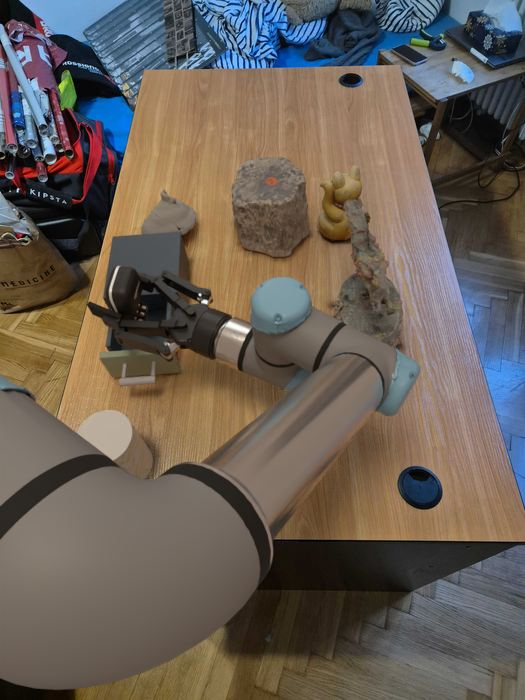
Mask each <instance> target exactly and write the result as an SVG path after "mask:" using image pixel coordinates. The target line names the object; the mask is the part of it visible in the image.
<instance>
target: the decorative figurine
mask: <svg viewBox="0 0 525 700" xmlns="http://www.w3.org/2000/svg"><path fill="white" fill-rule="evenodd" d="M361 176H362V175H361V170H360V166H359V165H358V164H353V165H352V166H351V167H350V169H349V172H341V171H339V170H338V171H335V172H334V173H333V175H332V179H331V180H330V179H324V180H322V181H321V183H320V184H319V186H320V188H322V189H323V190H324V195H323V197H322V201H321V207H322V210H323V211H322V212H320V214H319V216H318V219H317V224H316V227H317V230H318V231H319V232H320V233H321V235H323V236H324V237H325V238H326V239H329V240H330V241H331V242H332V243H334V242H336V241H341V240H342V241H343V240H344V241H348V240H349V239H351V232H352V230H351V227H350V224H349V223H348V217H347V216H346V212H345V207H344V202H346V201H347V200H357V201H360V202H362V203H363V201H362V199H361V195H362V193H363V192H362V191H363V182H362V180H361ZM361 209H362V210H363V206H362V207H361Z"/></svg>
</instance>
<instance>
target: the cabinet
mask: <svg viewBox="0 0 525 700" xmlns="http://www.w3.org/2000/svg"><path fill="white" fill-rule="evenodd" d="M110 244H111V245H110V252H109V256H108V257H109V258H108V262H107V263H108V264H107V269H106V270H107V271H106V276H105V282H104V290H103V294H102V299H103V301H104V303H105V305H106V307H107V309H109V310H111V307H110V305H109V303H108V301H107V299H106V287H107V284H108V281H109V278H110V275H111V272H112V270H113V268H114V267H117V266H122V267H132V268H134V269H135V270H136V271H137V272H138V273H139V272H142V273H145V274H148V275H150V276H153V277H155V276H157V277H158V276H159V275H161V272H162V271H163V270H167V271H169V272H171V273H173V274H175V275H176V276H178V277H180V278H182V279H184V280H186V281H188V282H189V258H188V253H187V249H186V246H185V241H184V238H183V235H182V234H181V231H180V232H167V233H154V234H142V233H140V234H129V235H116V236H112V238H111V243H110ZM168 287H169V286H168ZM169 288H170V289H171V290H173V291H174V292H175V293H176V294H177V295H178V296H179V297H180V298H182V299H183V300H185V301H186V302H187V303H188V296H186V295H184V294H182V293H180V292H179V291H177V290H175V289H173V288H171V287H169ZM159 296H161V295H160V294H159V293H157V292H156V289H155V288H154V291H153V292H152V293H150V292H148V291H145V290H142V294H141V297H140V298H146V297H159Z"/></svg>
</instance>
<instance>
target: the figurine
mask: <svg viewBox="0 0 525 700" xmlns="http://www.w3.org/2000/svg"><path fill="white" fill-rule="evenodd" d="M344 207H345V212H346V216H347V217H348V223H349V224H350V227H351V230H352V232H351V237H350V241H351V254H350V257H351V259H352V262H353V265H354V266H355V273H353V274H351V275H350V276H348V277H347V279H346V280H344V282H343V283H342V284H341V287H340V290H339V292H338V296H337V298H336V301H335V303H333V304H331V306H334V312H333V317H334V318H336V319H338V320H340V321H342V322H343V323H345V324H347V325H349V326H351V327H353V328H355V329H357V330H359V331H361V332H363V333H365V334H367V335H369V336H371V337H373V338H375V339H377V340H379V341H381V342H383V343H385V344H387V345H389V346H391V347H394V348H397V349H398V350H399V349H400V348H401V347H402V346H403V341H402V339H401V338H400V335H401V331H402V326H403V325H402V322H403V321H404V319H403V318H404V311H403V302H402V298H401V295H400V293H399V292H398V289H397V288H396V286H395V285H394V283H393V282H392V280H391V279H390V278H388V277H387V276H386V275H387V268H388V267H389V266H390V261H389V260H386V258H385V252H382V251H383V250H382V248H380V243H379V242H378V243H377V242H376V241H377V240H376V239H377V238H376V236H374V235H373V233H372V232H370V230H369V223H370V222H371V219H372V218H371V216H370V214H369V213H368V212H366V213H365V212H364V210H363V207H364V204H363V201H362V202H360V201H357V200H347V201H346V202H344ZM361 207H362V209H361Z"/></svg>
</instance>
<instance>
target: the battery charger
mask: <svg viewBox="0 0 525 700" xmlns="http://www.w3.org/2000/svg"><path fill="white" fill-rule="evenodd" d="M142 290H143V284H142V281H141V279H140V276H139V274H138V272H137V271H136V270H135V269H134V268H132V267H122V266H117V267H114V268H113V270H112V272H111V275H110V278H109V281H108V284H107V287H106V299H107V301H108V303H109V305H110V307H111V309H112V311H114V312H117V313H119V314H122V316H123V318H124V320H137V321H146V318H147V314H148V306H147V305H146V304H145V303H144V302H143V301H142V300H141V299H140V297H141V294H142Z"/></svg>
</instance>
